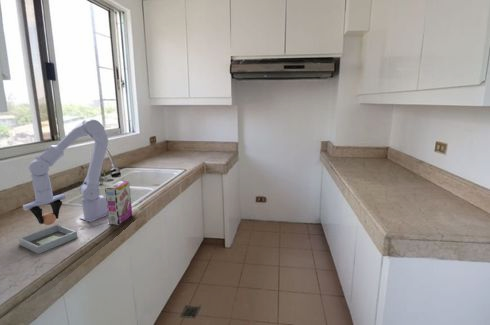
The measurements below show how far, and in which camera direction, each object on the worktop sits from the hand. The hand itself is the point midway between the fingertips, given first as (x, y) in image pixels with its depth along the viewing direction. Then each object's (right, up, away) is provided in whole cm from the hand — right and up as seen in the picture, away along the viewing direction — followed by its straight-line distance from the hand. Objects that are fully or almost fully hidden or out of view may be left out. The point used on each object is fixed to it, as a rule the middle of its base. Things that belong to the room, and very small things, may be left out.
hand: (48, 220), depth 111 cm
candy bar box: (+27, -2, +8) cm, 28 cm away
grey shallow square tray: (+8, -5, -10) cm, 14 cm away
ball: (0, -2, 0) cm, 2 cm away
